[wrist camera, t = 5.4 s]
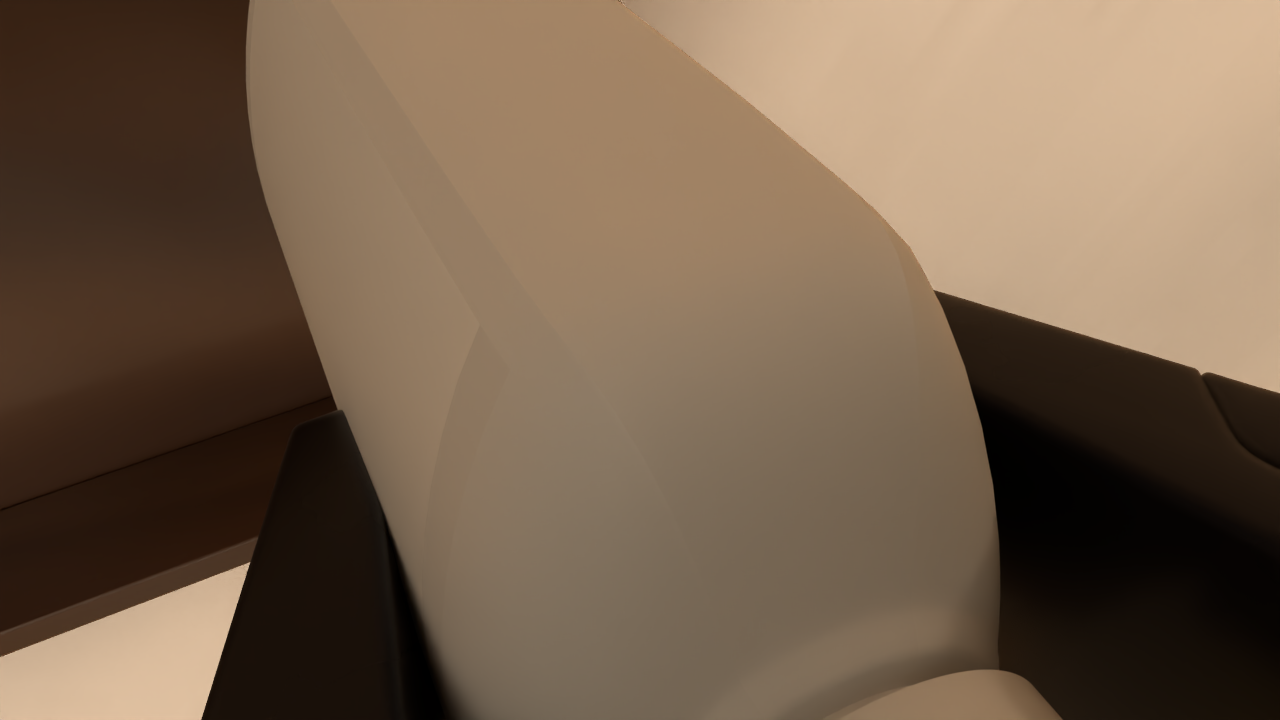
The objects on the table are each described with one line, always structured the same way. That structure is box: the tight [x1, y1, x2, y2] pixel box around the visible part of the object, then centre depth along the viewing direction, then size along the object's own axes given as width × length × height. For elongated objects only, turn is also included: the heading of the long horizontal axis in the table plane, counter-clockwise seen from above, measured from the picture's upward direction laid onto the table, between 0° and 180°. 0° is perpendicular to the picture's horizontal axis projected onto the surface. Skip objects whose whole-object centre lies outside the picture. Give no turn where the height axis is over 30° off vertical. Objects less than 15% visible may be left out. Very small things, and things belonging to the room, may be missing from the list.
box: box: [0, 0, 338, 657], centre depth 17 cm, size 13×15×4 cm
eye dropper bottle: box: [246, 0, 1063, 720], centre depth 7 cm, size 4×6×12 cm
